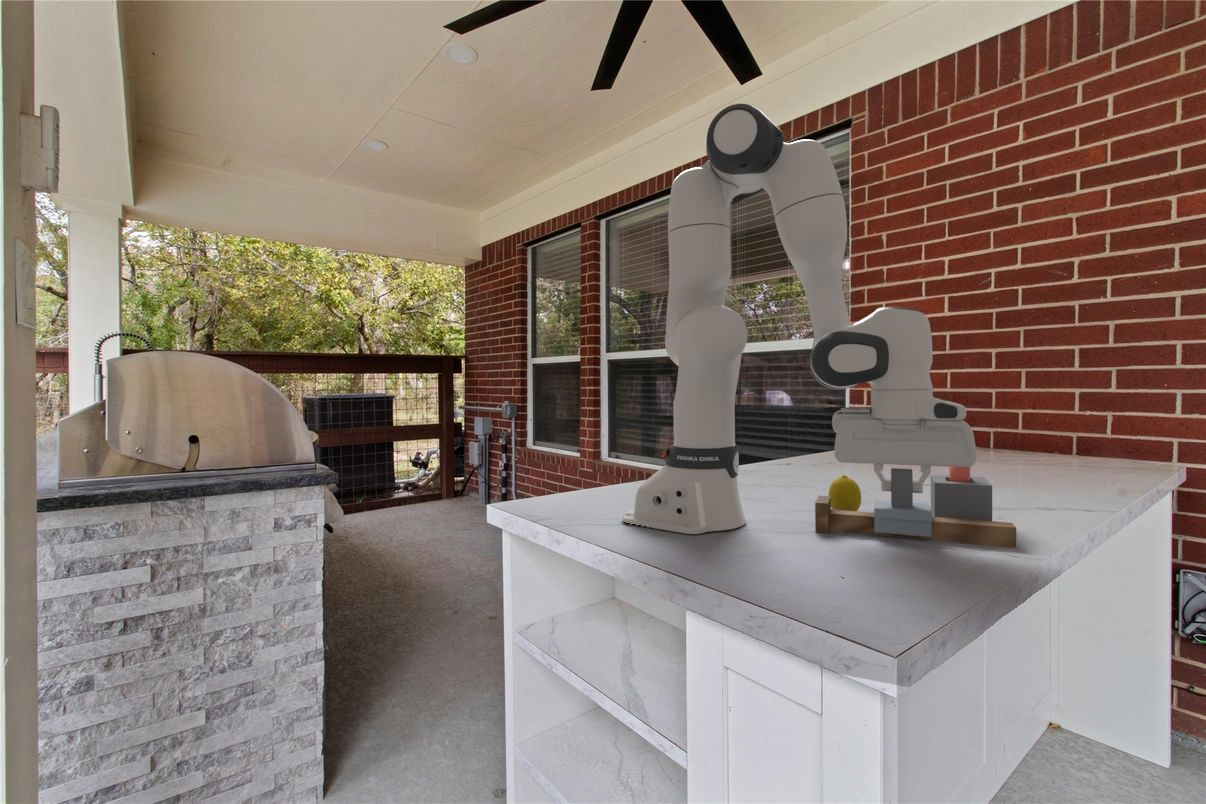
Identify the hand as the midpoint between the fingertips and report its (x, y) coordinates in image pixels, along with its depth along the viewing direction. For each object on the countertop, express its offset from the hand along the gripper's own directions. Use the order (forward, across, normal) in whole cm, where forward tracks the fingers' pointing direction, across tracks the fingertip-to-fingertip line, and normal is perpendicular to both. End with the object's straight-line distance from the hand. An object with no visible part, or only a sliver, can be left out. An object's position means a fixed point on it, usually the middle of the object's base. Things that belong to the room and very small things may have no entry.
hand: (901, 491), depth 91 cm
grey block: (+7, +9, +9) cm, 15 cm away
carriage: (+7, 0, 0) cm, 7 cm away
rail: (+7, +2, 0) cm, 7 cm away
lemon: (+7, -9, +8) cm, 14 cm away
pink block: (+2, +9, +9) cm, 13 cm away
